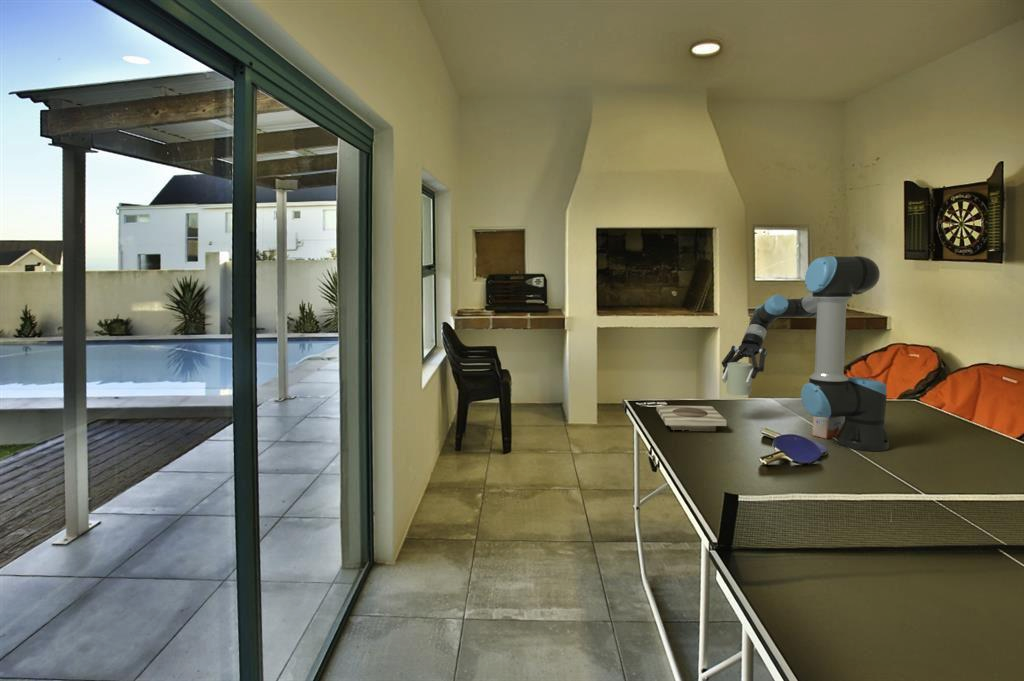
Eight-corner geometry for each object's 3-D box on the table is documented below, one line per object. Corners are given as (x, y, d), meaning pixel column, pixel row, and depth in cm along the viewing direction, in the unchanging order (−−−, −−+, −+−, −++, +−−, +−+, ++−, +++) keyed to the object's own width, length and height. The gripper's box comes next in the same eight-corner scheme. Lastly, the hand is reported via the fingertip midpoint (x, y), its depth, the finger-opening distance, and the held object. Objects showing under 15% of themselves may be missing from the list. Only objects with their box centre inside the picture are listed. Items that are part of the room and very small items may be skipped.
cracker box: (828, 439, 204) (831, 382, 202) (810, 436, 209) (814, 379, 206) (846, 432, 213) (850, 377, 210) (829, 429, 217) (833, 375, 215)
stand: (726, 433, 213) (726, 419, 213) (665, 433, 215) (666, 419, 215) (711, 418, 235) (711, 405, 234) (656, 417, 237) (656, 404, 236)
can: (747, 390, 232) (748, 360, 230) (754, 395, 223) (755, 364, 221) (723, 390, 233) (724, 360, 231) (730, 395, 224) (730, 364, 222)
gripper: (783, 346, 228) (766, 391, 219) (730, 341, 244) (712, 384, 235) (779, 334, 224) (760, 380, 215) (725, 330, 239) (706, 373, 230)
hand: (735, 382), depth 225 cm, fingers closed on can, 9 cm apart
